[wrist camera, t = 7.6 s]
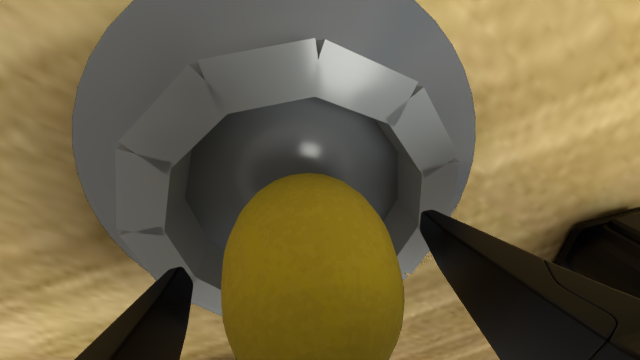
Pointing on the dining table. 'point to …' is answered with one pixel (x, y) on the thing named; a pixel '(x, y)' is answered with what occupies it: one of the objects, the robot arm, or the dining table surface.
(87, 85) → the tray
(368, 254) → the lemon
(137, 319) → the robot arm
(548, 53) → the dining table surface
